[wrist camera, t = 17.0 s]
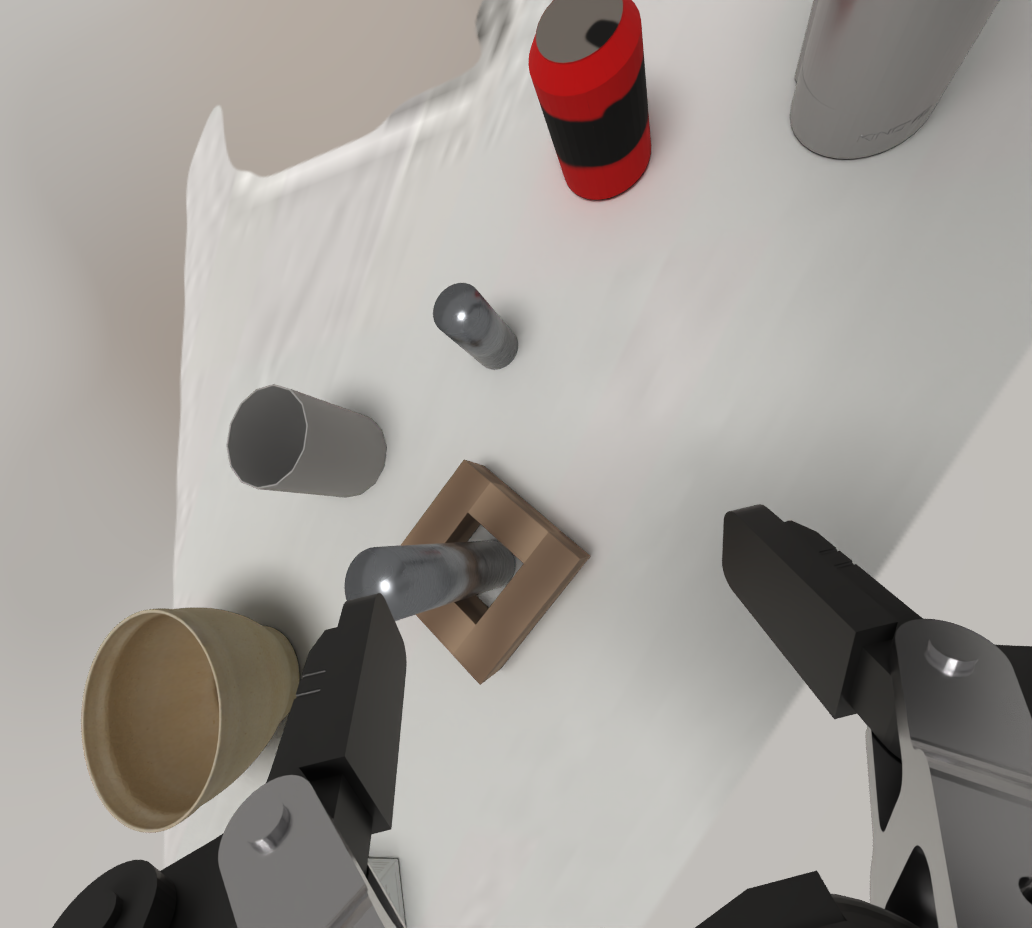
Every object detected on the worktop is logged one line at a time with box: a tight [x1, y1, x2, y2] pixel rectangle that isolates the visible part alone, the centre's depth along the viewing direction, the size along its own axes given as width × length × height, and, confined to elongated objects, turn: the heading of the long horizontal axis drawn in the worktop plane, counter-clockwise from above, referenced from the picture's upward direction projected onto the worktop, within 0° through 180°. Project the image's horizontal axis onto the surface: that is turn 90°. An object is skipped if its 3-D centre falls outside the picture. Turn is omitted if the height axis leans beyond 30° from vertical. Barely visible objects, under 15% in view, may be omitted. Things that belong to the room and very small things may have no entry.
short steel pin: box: [433, 283, 518, 369], centre depth 38 cm, size 4×4×8 cm
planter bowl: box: [81, 608, 299, 833], centre depth 40 cm, size 16×16×11 cm
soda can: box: [529, 0, 651, 200], centre depth 35 cm, size 8×8×12 cm
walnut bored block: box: [401, 460, 590, 685], centre depth 37 cm, size 12×12×4 cm
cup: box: [227, 384, 387, 497], centre depth 41 cm, size 8×8×10 cm
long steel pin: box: [345, 540, 515, 621], centre depth 31 cm, size 4×4×16 cm
